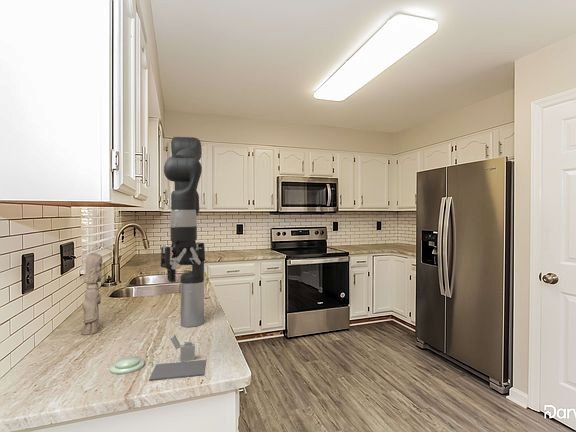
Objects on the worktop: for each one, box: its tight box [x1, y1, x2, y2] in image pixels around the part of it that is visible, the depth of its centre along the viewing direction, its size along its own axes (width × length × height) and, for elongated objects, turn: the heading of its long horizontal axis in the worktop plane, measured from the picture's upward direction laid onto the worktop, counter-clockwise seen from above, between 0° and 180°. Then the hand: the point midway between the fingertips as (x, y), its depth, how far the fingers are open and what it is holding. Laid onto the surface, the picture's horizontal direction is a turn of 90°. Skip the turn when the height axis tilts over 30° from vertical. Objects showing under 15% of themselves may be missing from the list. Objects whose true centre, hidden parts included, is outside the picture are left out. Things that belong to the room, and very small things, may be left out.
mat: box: [148, 359, 206, 382], centre depth 90 cm, size 9×14×1 cm, turn 102°
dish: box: [109, 355, 145, 375], centre depth 92 cm, size 9×9×2 cm
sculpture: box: [80, 252, 103, 336], centre depth 122 cm, size 7×7×30 cm
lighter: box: [169, 333, 196, 362], centre depth 96 cm, size 7×2×8 cm, turn 108°
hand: (184, 279), depth 95 cm, fingers open, 8 cm apart
